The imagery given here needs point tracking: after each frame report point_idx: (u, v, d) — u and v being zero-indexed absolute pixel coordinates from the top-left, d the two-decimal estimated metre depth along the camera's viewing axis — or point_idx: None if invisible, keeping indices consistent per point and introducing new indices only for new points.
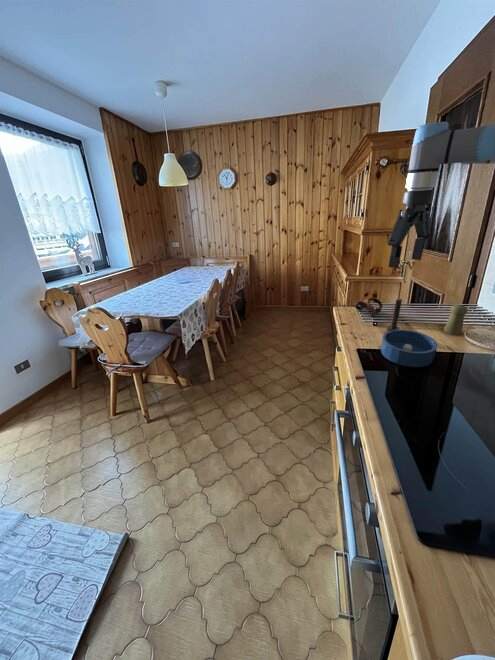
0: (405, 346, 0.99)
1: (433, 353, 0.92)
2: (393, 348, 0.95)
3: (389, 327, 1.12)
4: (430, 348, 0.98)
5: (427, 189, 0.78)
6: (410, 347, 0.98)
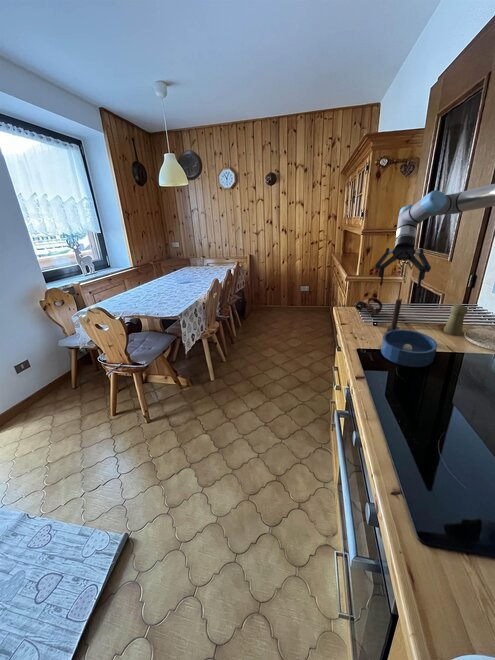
0: (405, 346, 0.99)
1: (433, 353, 0.92)
2: (393, 348, 0.95)
3: (389, 327, 1.12)
4: (430, 348, 0.98)
5: (402, 235, 1.17)
6: (410, 347, 0.98)
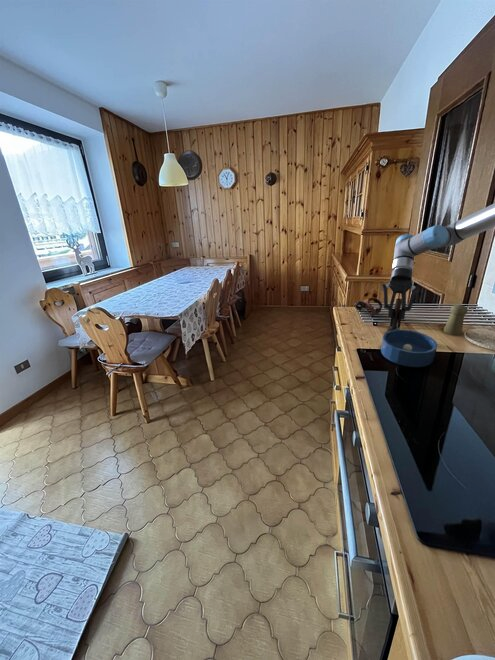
0: (405, 346, 0.99)
1: (433, 353, 0.92)
2: (393, 348, 0.95)
3: (389, 327, 1.12)
4: (430, 348, 0.98)
5: (399, 267, 1.12)
6: (410, 347, 0.98)
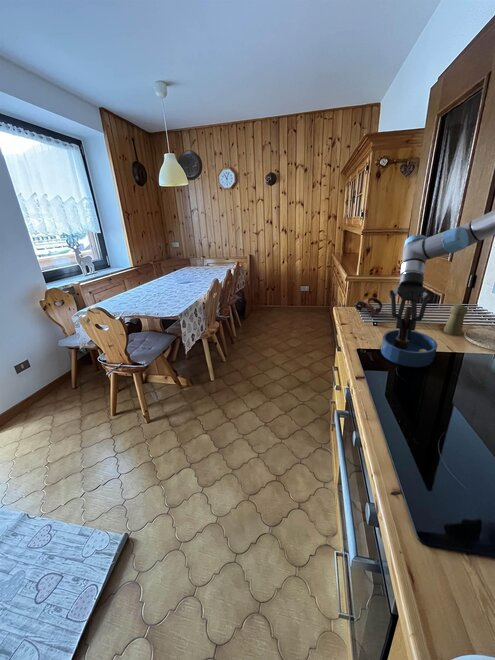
0: None
1: (433, 353, 0.92)
2: (393, 348, 0.95)
3: None
4: (430, 348, 0.98)
5: (408, 272, 0.99)
6: None
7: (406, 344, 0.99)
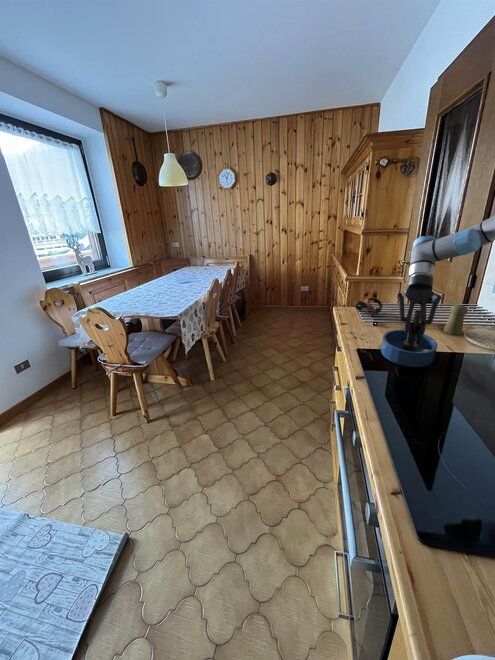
0: None
1: (433, 353, 0.92)
2: (393, 348, 0.95)
3: (406, 342, 0.97)
4: (430, 348, 0.98)
5: (417, 274, 0.96)
6: None
7: (415, 348, 0.96)
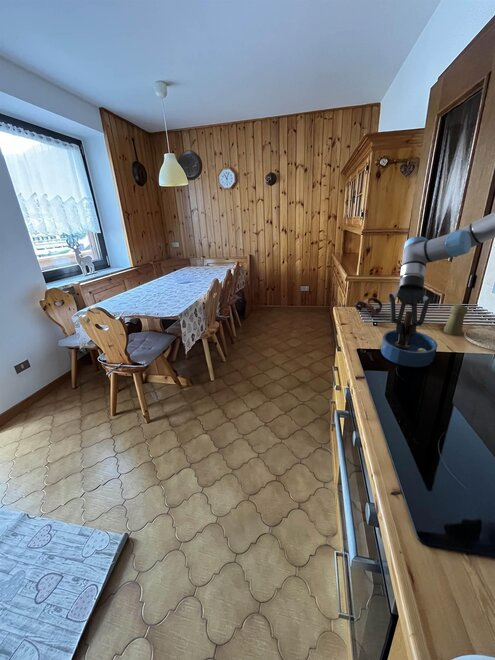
0: None
1: (433, 353, 0.92)
2: (393, 348, 0.95)
3: (397, 344, 0.97)
4: (430, 348, 0.98)
5: (408, 275, 0.96)
6: None
7: (406, 349, 0.96)
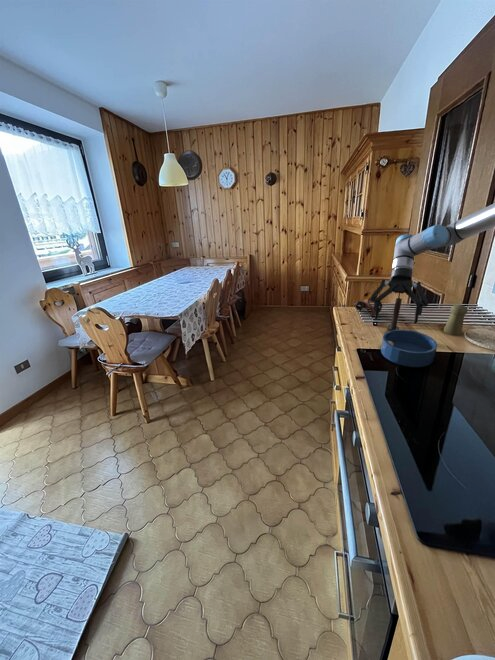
0: None
1: (433, 353, 0.92)
2: (393, 348, 0.95)
3: (389, 327, 1.13)
4: (430, 348, 0.98)
5: (399, 267, 1.12)
6: None
7: None
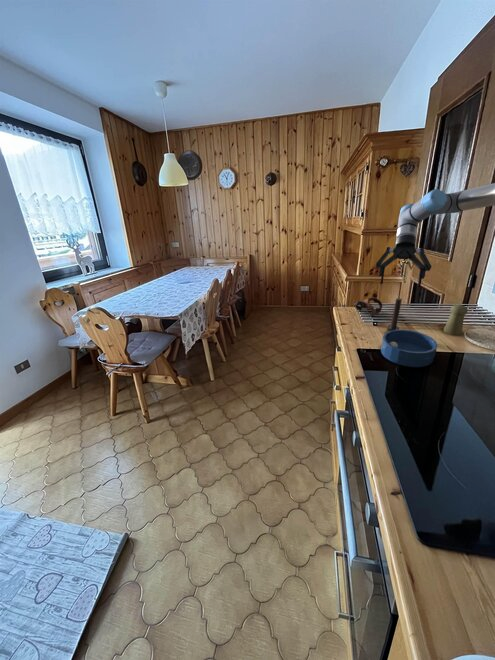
0: None
1: (433, 353, 0.92)
2: (393, 348, 0.95)
3: (389, 327, 1.13)
4: (430, 348, 0.98)
5: (403, 234, 1.17)
6: None
7: None
